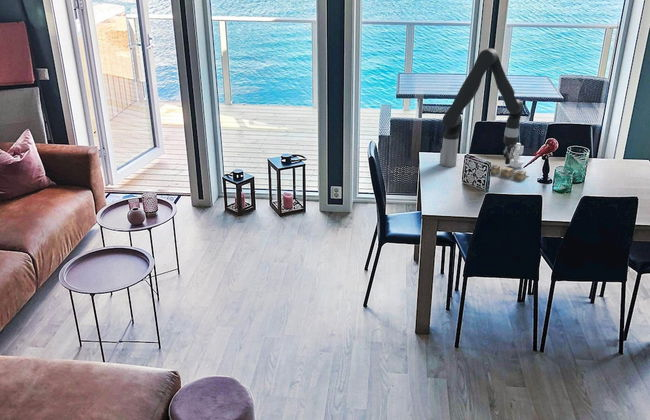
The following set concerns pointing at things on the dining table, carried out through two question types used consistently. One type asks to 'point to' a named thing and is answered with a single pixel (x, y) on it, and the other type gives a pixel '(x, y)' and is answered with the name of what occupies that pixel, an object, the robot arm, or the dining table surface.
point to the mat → (507, 177)
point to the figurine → (517, 156)
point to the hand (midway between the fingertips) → (507, 163)
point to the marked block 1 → (495, 168)
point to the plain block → (506, 171)
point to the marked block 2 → (519, 174)
